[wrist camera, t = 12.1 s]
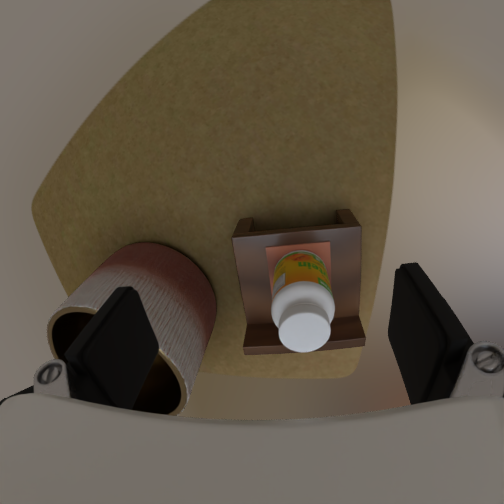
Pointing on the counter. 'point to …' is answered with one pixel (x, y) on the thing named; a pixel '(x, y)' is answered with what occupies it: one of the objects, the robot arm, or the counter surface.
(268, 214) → the counter surface
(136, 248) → the planter
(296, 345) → the supplement bottle
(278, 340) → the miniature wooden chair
